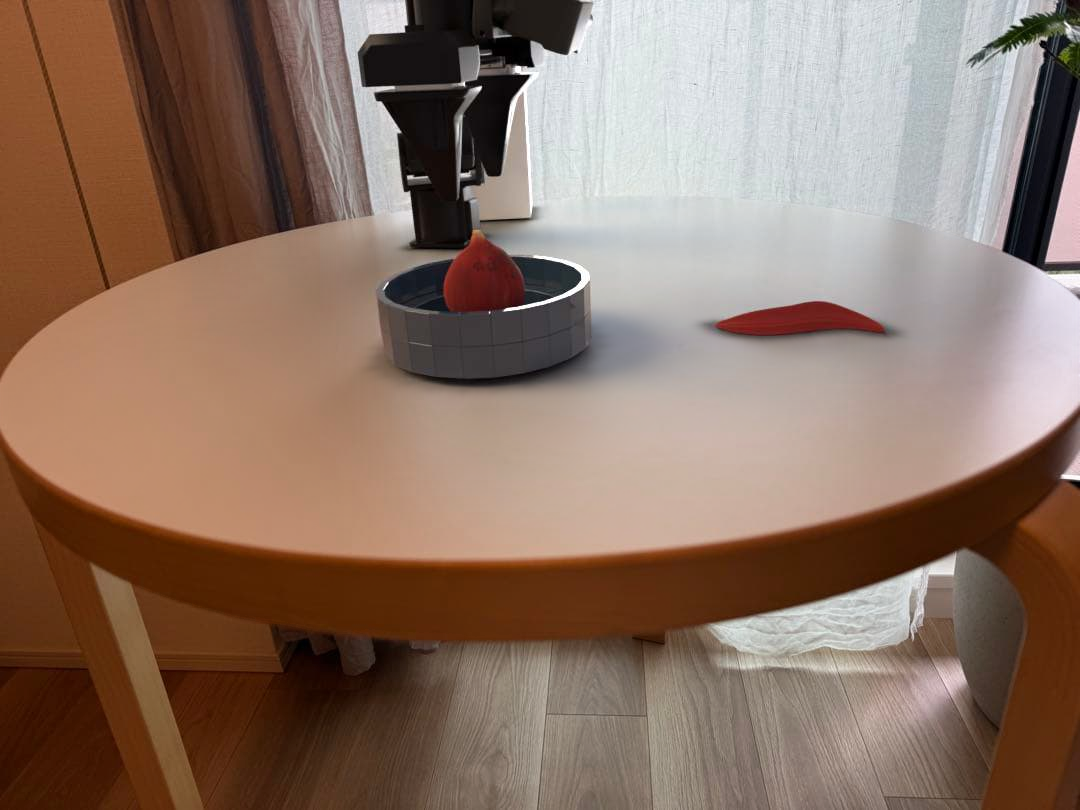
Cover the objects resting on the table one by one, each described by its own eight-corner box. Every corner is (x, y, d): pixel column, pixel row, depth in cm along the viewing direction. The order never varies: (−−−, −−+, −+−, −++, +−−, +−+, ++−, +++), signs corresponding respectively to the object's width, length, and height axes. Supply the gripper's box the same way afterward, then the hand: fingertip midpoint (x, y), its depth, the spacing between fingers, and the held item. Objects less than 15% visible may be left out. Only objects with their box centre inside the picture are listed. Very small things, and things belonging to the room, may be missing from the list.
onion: (540, 329, 62) (534, 223, 59) (505, 355, 57) (497, 242, 54) (473, 322, 64) (464, 220, 61) (434, 347, 60) (422, 237, 56)
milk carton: (531, 219, 102) (521, 53, 95) (474, 221, 103) (460, 56, 95) (532, 208, 109) (523, 51, 101) (478, 210, 109) (466, 55, 101)
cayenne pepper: (885, 322, 61) (888, 297, 60) (885, 343, 57) (888, 317, 56) (722, 312, 65) (723, 289, 65) (711, 331, 61) (712, 307, 61)
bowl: (347, 380, 56) (336, 310, 54) (432, 311, 70) (426, 253, 68) (562, 393, 52) (559, 318, 50) (609, 317, 66) (608, 256, 64)
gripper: (536, -99, 41) (550, 217, 47) (609, -67, 57) (613, 165, 64) (335, -79, 44) (374, 216, 50) (459, -54, 60) (477, 166, 67)
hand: (474, 187), depth 58 cm, fingers open, 9 cm apart
